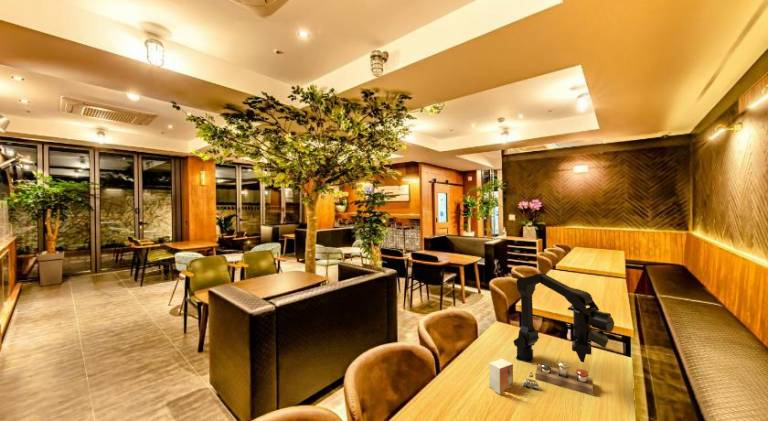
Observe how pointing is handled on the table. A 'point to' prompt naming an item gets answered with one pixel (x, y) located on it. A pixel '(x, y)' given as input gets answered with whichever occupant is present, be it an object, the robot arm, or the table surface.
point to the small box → (500, 375)
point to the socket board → (565, 380)
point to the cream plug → (563, 369)
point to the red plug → (582, 375)
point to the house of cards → (531, 382)
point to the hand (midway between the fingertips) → (582, 361)
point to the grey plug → (546, 367)
